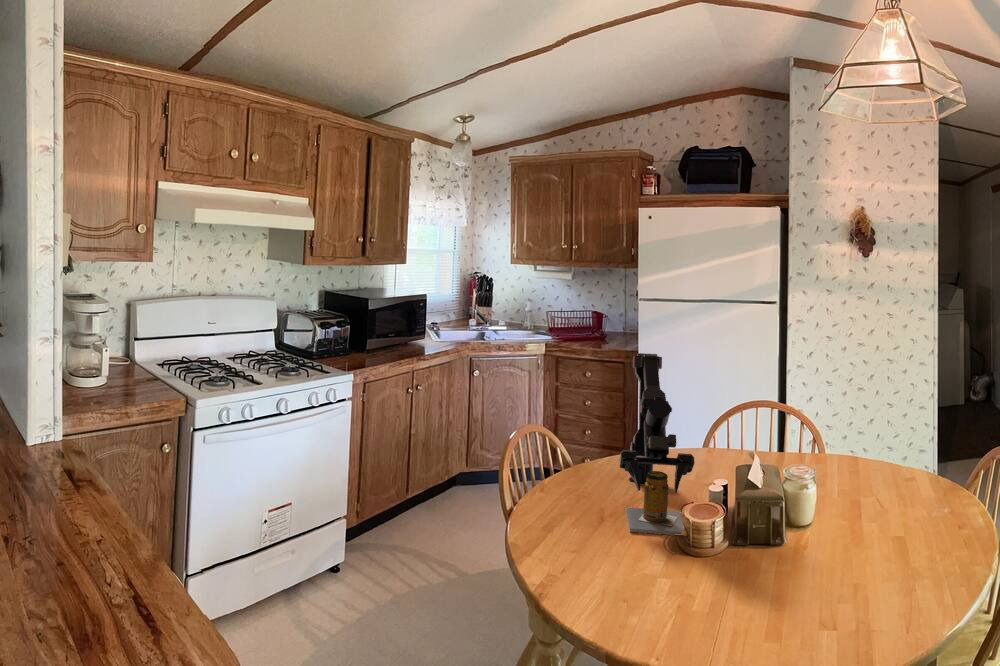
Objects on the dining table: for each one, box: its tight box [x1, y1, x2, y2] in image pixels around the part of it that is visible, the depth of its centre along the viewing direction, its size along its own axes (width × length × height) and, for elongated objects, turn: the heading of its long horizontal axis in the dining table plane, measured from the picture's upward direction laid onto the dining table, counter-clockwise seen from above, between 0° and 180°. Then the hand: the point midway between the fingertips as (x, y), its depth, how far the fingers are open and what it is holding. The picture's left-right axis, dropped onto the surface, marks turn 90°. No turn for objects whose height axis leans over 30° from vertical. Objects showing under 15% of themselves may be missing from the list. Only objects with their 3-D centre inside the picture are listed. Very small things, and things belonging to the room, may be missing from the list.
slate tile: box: [625, 506, 684, 536], centre depth 176 cm, size 14×14×1 cm
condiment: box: [638, 470, 677, 526], centre depth 175 cm, size 7×8×12 cm
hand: (657, 491), depth 173 cm, fingers open, 9 cm apart
